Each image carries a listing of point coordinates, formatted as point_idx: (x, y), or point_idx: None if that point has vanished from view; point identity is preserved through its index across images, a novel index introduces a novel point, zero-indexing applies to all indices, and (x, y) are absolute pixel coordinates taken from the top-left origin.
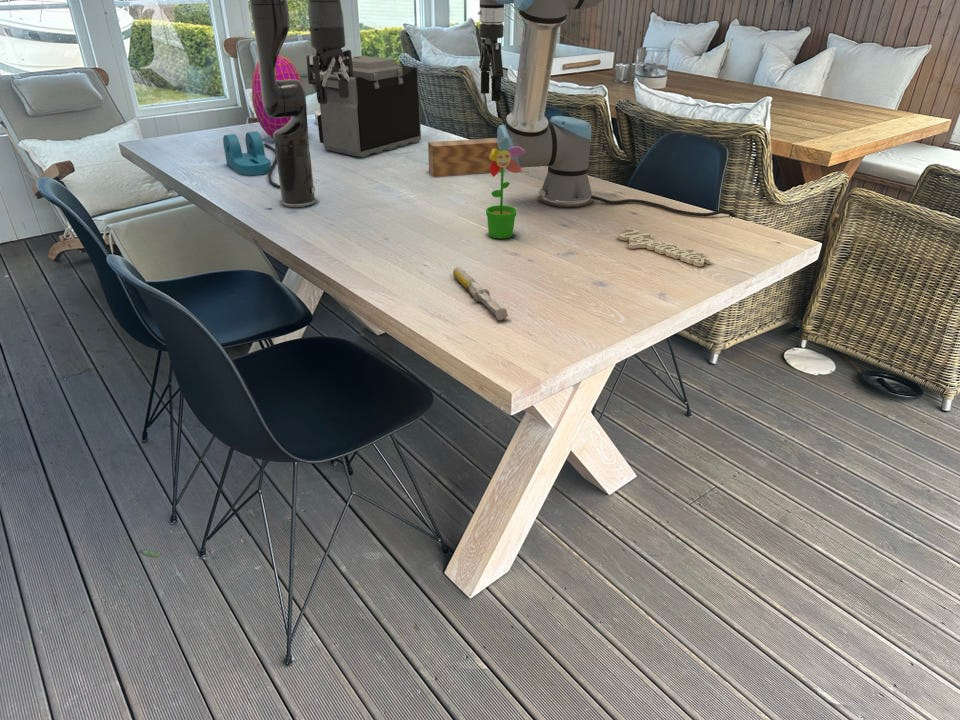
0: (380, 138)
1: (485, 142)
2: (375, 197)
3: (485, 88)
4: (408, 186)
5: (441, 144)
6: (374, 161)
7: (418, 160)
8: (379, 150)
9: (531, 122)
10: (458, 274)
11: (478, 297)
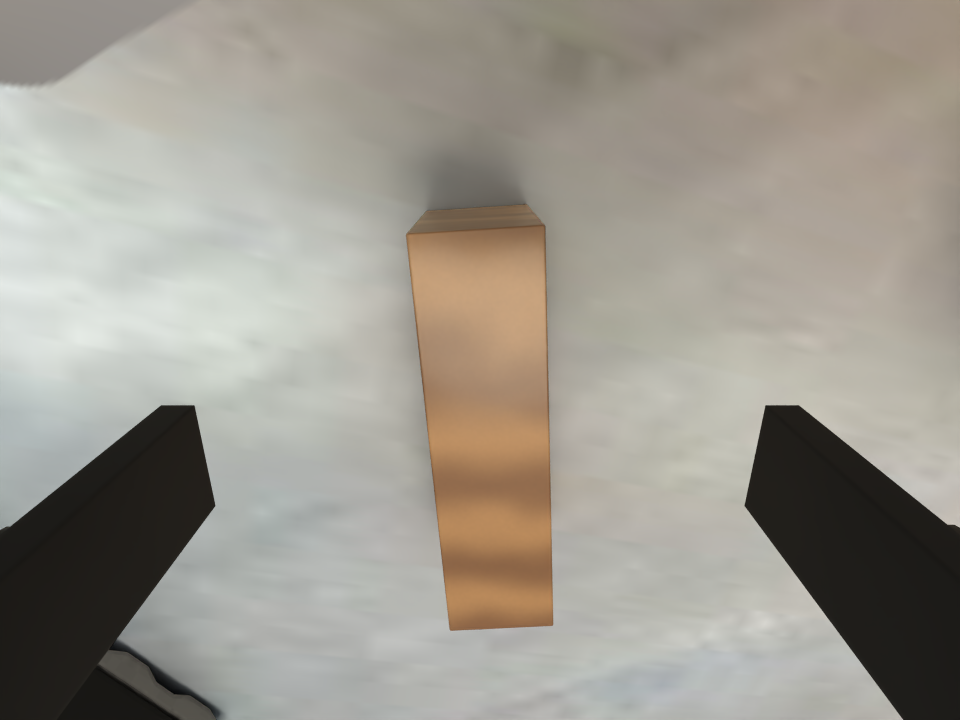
0: (87, 705)
1: (530, 344)
2: (725, 713)
3: (171, 495)
4: (637, 617)
5: (519, 583)
6: (260, 677)
7: (255, 535)
8: (129, 664)
9: None
10: None
11: None
